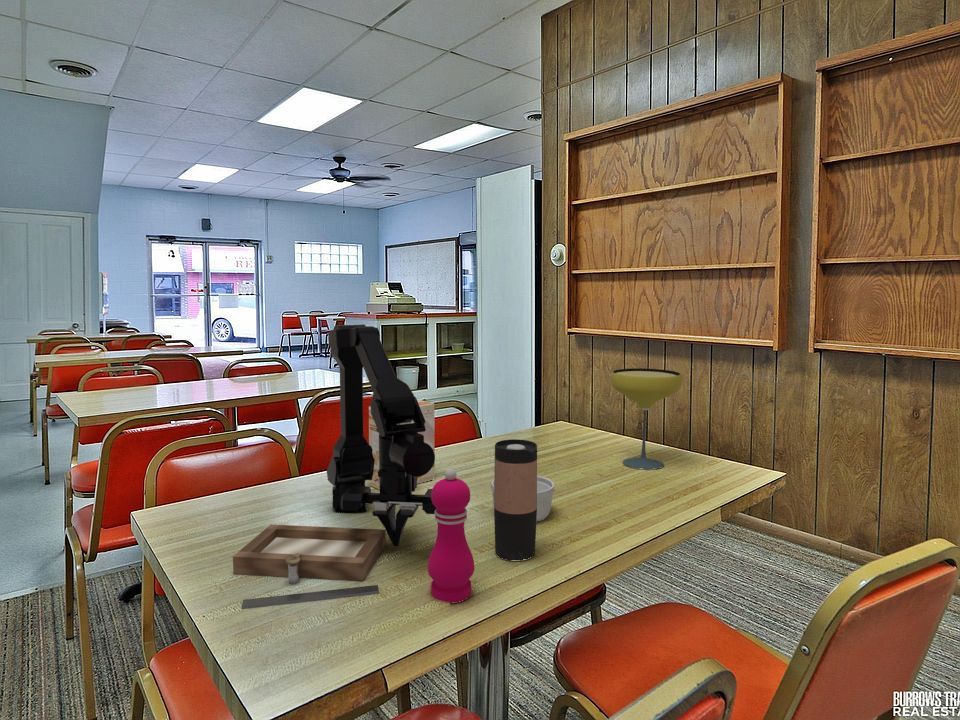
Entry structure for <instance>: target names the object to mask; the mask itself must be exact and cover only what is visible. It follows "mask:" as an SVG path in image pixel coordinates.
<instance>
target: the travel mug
mask: <svg viewBox="0 0 960 720" xmlns="http://www.w3.org/2000/svg"><path fill="white" fill-rule="evenodd" d="M493 471H494V473H493V474H494V475H493V476H494V477H493V479H494V504H493V512H494V514H493V515H494V519H493V520H494V521H493V523H494V549H495V550H494V553H495V555H496V554H497V555H498V556H499V557H500V559H501V558H503V559H507V560H523V559H528V558H530V557H532V556H533V557H535V554H536V541H537V537H536V536H537V535H536V534H537V522H536V519H537V476H538V445H537V443H536V442H534V441H531V440H527V439H519V438H518V439H514V438H513V439H504V440H503V439H501V440H499V441H497V442H495V444H494V470H493ZM497 555H496V556H497ZM498 556H497V557H498ZM499 557H498V558H499ZM533 557H532V558H533ZM503 559H502V560H503ZM507 560H506V561H507Z"/></svg>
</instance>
